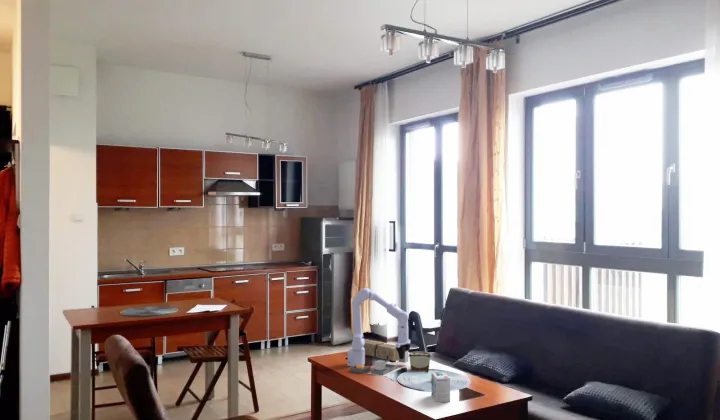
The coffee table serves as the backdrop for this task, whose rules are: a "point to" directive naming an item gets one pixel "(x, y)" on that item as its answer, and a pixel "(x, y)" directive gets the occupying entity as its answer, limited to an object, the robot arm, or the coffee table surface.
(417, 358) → the food container
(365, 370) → the button housing
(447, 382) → the light bulb box
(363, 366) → the button
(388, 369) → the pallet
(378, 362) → the seated billet
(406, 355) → the billet
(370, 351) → the block tower
